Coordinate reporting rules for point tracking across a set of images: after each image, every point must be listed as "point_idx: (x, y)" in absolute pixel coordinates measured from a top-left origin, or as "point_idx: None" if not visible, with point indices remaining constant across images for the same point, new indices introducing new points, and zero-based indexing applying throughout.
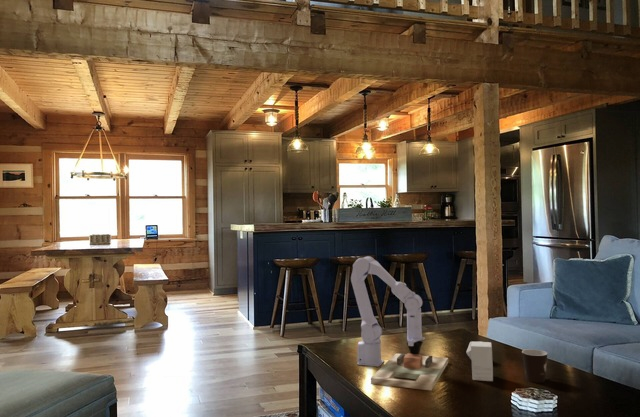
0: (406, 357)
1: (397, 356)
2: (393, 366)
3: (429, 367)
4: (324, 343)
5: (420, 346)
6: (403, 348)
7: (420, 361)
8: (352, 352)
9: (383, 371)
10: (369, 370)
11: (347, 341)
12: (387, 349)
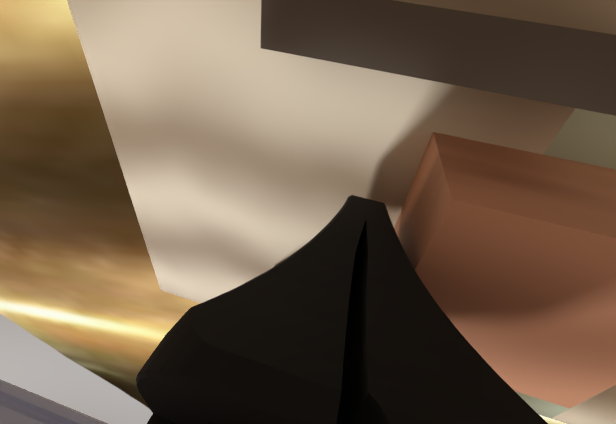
0: (593, 393)
1: (219, 292)
2: None
3: (602, 22)
4: (144, 400)
5: (345, 321)
6: (5, 219)
7: (605, 199)
8: None
9: (602, 412)
10: None
11: (87, 360)
12: (75, 281)
